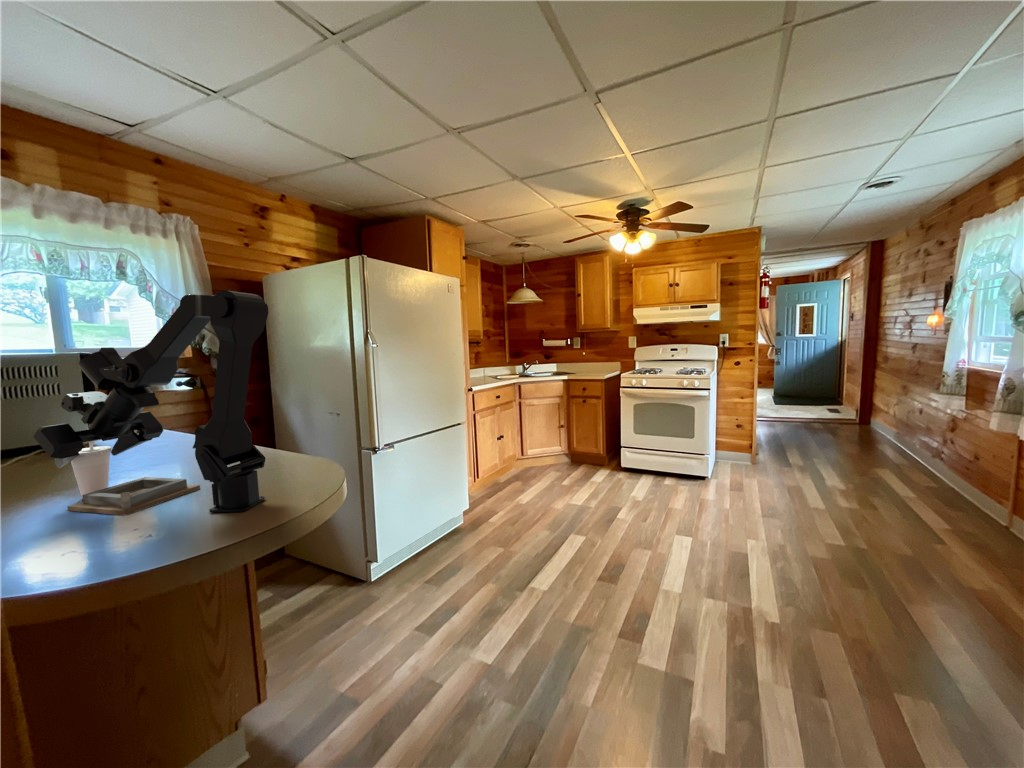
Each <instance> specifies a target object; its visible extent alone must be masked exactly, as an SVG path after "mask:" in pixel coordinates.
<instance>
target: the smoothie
mask: <svg viewBox="0 0 1024 768" xmlns="http://www.w3.org/2000/svg"><path fill="white" fill-rule="evenodd" d="M86 430H89V429H88V428H87V429H86ZM88 445H89V447H85V448H84V447H83V448H82V450H81V451H80V452H78V453H79V454H80V455H78V456H77V457H76V458H74V459H73V460H72V461H70V463H71V467H72V470H73V474H74V476H75V480H76V483H77V486H78V489H79V492H80V496H81V499H82V500H83V497H82V495H84V494H88V493H91V492H95V491H98V490H101V489H105V488H108V487H109V477H110V476H109V474H110V457H111V452H112V446H109V445H105V446H104V445H103V446H102V445H101V446H94V441H93V442H88Z"/></svg>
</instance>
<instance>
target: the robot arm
mask: <svg viewBox="0 0 1024 768" xmlns="http://www.w3.org/2000/svg"><path fill="white" fill-rule="evenodd" d="M268 316H269V306H268V304H267V303H266V301H265V300H264V298H262V297H261V295H258V294H255V293H250V292H249V293H247V292H242V291H241V292H240V291H235V290H225V289H223V290H220V291H218V292H217V293H216V294H213V295H212V294H211V295H209V294H208V295H207V294H194V293H189V294H186V295H183V296H182V297H181V299H180V301H179V306H178V307H177V308H176V310H175V311H173V313H172V315H171V316H170V317H169V318H168V319H167V320H166V322H165V323H164V325H162V327H161V328H160V329H159V331H158V332H157V333H156V334H155V335H154V337H153V338H152V339H151V340H150V342H149V343H147V344H146V345H144V346H142V347H140V348H137V349H136V350H132V351H131V352H129V353H128V354H127V355H126V356H125V357H124V358H122V356H120V354H119V353H118V351H117V350H116V349H115V348H114V347H101V348H100V349H99V350H98V351H95V352H92V353H89V354H88V355H86V356H84V357H83V358H81V359H80V360H79V361H78V368H79V369H81V371H82V372H83V373H84V374H85V376H86V377H87V378H88V379H89V380H90V381H91V382H92V383H93V385H94V386H95V387H96V388H97V389H98V390H101V391H87V392H85V391H84V392H75V393H73V392H72V393H67V394H65V395H64V397H62V399H61V403H60V406H61V408H62V409H63V410H65V411H66V412H69V413H75V412H76V413H77V414H79V415H81V416H82V417H81V419H80V420H81V421H82V423H83V424H84V425H88V426H87V429H89V430H87V429H84V430H77V431H76V430H74V428H73V427H72V426H71V425H70V423H57V424H52V425H43V426H39V427H38V429H36V432H35V433H34V435H33V436H32V437H33V438H34V439H35V441H36V442H37V443H38V444H39V446H40V447H41V448H42V449H43V450H44V452H45V453H46V454H47V455H48V456H49V457H50V458H54V464H55V466H56V468H57V469H62V468H63V467H65V466H67V464H69V463H71V461H72V460H73V459H74V458H76V457H77V456H78V455H80V454H79V453H78V452H80V451H81V450H82V449H83V448H84V444H87V443H89V442H93V443H94V442H97V441H102V442H105V441H111V440H116V441H115V442H114V445H113V446H112V447H111V450H112V452H110V455H112V456H113V457H115V456H118V455H120V454H123V453H124V452H127V451H128V450H130V449H133V448H134V447H137V446H140V445H142V444H144V443H146V442H149V441H152V440H153V439H156V438H160V436H161V435H162V434H163V432H164V425H163V424H162V423H161V422H160V421H159V420H158V419H157V418H156V416H155V415H154V414H153V413H152V412H151V411H143V410H144V408H152V407H157V406H159V405H160V401H159V399H158V398H157V396H156V393H155V392H153V391H152V390H151V388H152V387H160V386H161V387H162V386H163V387H164V386H166V385H169V384H170V383H171V382H172V380H173V378H175V375H176V374H177V372H178V371H179V364H178V360H179V358H180V357H181V356H182V354H184V352H185V351H186V350H187V349H188V348H189V346H190V345H191V344H192V343H193V341H194V340H195V339H196V338H197V337H198V335H200V334H201V332H202V331H203V329H205V327H206V326H207V325H208V324H209V322H210V326H211V328H212V329H213V331H214V333H215V335H216V336H217V338H218V352H217V353H218V354H217V360H216V361H217V362H216V371H215V380H214V387H213V389H214V390H213V401H212V408H211V416H210V419H209V421H208V422H207V423H206V424H203V425H199V426H197V427H196V429H195V431H194V444H193V445H192V449H195V450H194V457H195V460H196V463H197V465H198V468H199V470H200V472H201V476H202V478H203V480H204V481H209V482H210V483H211V491H212V504H213V507H211V508H209V509H208V510H209V511H208V512H209V513H235V512H236V513H237V512H238V513H239V512H241V513H243V512H245V511H247V510H249V509H251V508H252V507H254V506H256V505H257V504H259V503H261V502H262V501H264V500H265V499H266V497H265V496H261V495H260V490H259V477H258V470H259V469H263V468H264V467H265V463H266V460H267V459H266V457H265V455H264V454H263V453H262V452H261V451H260V450H259V449H258V448H257V447H256V446H255V445H254V443H253V442H252V441H253V440H252V438H253V437H252V431H251V429H250V427H249V425H248V424H247V422H246V421H245V413H246V405H247V396H248V387H249V379H250V378H249V377H250V371H251V364H252V363H251V362H252V353H253V346H254V344H255V342H256V341H257V340H258V338H259V337H260V336H261V334H262V333H263V332H264V330H265V326H266V323H267V319H268ZM150 387H151V388H150ZM102 391H110V392H109V393H108V394H106V393H104V392H102ZM236 463H237V464H236ZM232 464H233V465H232ZM230 465H231V466H230Z"/></svg>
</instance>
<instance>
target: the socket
mask: <svg viewBox="0 0 1024 768" xmlns="http://www.w3.org/2000/svg"><path fill="white" fill-rule="evenodd" d="M198 490H201V485H200V484H189V483H188V480H187V478H173V477H172V478H170V477H156V476H155V477H153V476H152V477H151V476H144V477H141V478H140V477H139V478H137V479H133V480H130V481H126V482H124V483H120V484H117V485H113V486H108V488H105V489H101V490H98V491H95V492H91V493H88V494H84V495H82V496H81V498H82V497H83V499H82V501H80V502H77V503H74V504H71V505H67V511H70V512H80V511H82V513H83V512H84V513H94V514H105V515H107V514H108V515H115V516H116V515H117V516H128V515H130V514H133V513H136V512H139V511H142V510H144V509H148V508H150V507H152V506H156V505H158V504H162V503H165V502H167V501H170V500H173V499H175V498H178V497H180V496H183V495H187V494H189V493H192V492H195V491H198Z"/></svg>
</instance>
